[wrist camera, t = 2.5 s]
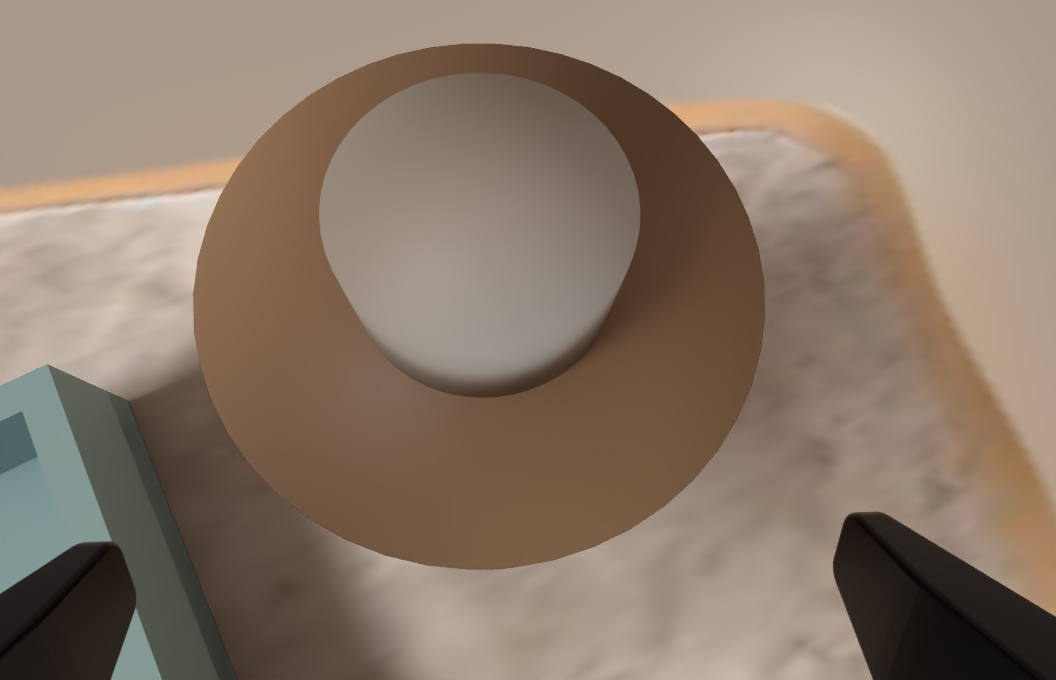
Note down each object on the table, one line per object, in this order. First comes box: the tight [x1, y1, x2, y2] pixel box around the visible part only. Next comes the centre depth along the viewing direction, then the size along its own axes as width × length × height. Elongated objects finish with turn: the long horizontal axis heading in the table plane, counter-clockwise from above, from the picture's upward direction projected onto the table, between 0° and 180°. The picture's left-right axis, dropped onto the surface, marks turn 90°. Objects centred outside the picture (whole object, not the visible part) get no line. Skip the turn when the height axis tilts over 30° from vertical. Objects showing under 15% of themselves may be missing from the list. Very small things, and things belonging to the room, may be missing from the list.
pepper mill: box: [193, 44, 765, 569], centre depth 12 cm, size 5×5×14 cm
